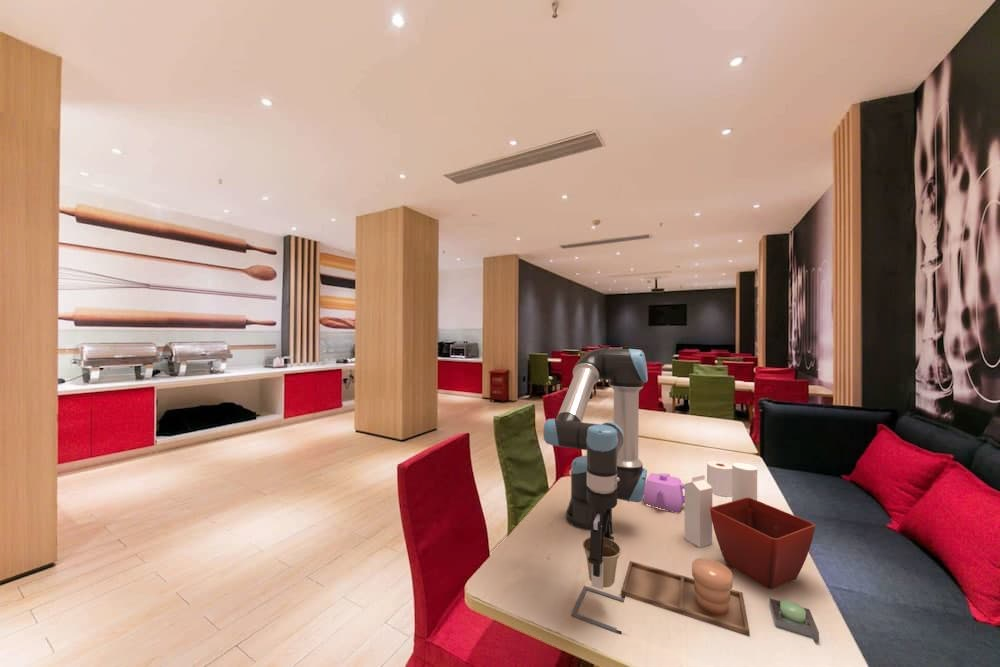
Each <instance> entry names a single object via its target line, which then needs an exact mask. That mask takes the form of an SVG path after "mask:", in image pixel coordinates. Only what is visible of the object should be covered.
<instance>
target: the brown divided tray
mask: <svg viewBox="0 0 1000 667" xmlns="http://www.w3.org/2000/svg"><path fill="white" fill-rule="evenodd" d="M626 570H627V571H626V573H625V577H624V581H623V584H622V587H621V590H620V592H621V593H620V596H621V597H620V598H623V599H626V597H628V598H631V599H633V600H637V601H640V602H644V603H647V604H649V605H653V606H655V607H657V608H658V607H659V608H662V609H665V610H667V611H671V612H673V613H677V614H681V615H684V616H686V617H689V618H693V619H696V620H698V621H702V622H705V623H708V624H711V625H714V626H717V627H719V628H724V629H726V630H729V631H731V632H735V633H738V634H741V635H745V636H747V637H751V636H750V635H751V634H750V626H749V622H748V615H747V609H746V604H745V600H744V599H745V598H744V594H743V592H741V591H739V590H735V589H732V588H731V589H730V601H729V602H728V612H727V613H726V614H724V615H715V614H712V613H709V612H707V611H705V610H703V609H702V608H701V607H700V606H699V605H698V604H697V602H696V592H695V589H694V578H692V577H688V576H684V575H681V574H678V573H674V572H671V571H667V570H664V569H659V568H658V567H654V566H650V565H646V564H642V563H640V562H635V561H632V560H629V563H628V566H627V569H626Z"/></svg>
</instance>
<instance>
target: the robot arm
mask: <svg viewBox="0 0 1000 667" xmlns="http://www.w3.org/2000/svg"><path fill="white" fill-rule="evenodd" d="M647 365H648V364H647V360H646V356H645V352H644V351H642V349H641V350H640V349H635V348H634V349H633V348H596V349H593V350H591V351H589V352H587V353H585V354H583V356H581V358H580V359H578V361H577V362H576V363H575V365H574V367H573V369H572V378H571V382H570V385H569V387H568V389H567V392H566V394H565V397H564V399H563V401H562V404H561V406H560V409H559V411H558V414H557V415H556V418H548V419H546V421H544V422H545V423H544V425H543V431H542V434H543V440H544V443H546V444H547V445H551V446H556V447H561V448H570V449H575V450H583V451H586V455H581V456H578V457H576V458H574V459H572V462H571V470H570V475H571V476H570V480H571V481H570V486H571V487H570V493H571V494H570V498H569V499H570V500H569V503H568V506H567V508H566V513H565V515H566V516H565V517H566V518H565V519H566V521H567V522H568V523H569V525H571V526H574V527H576V528H577V529H581V530H586V531H590V555H589V558H588V560H589V563H592V582H591V587H592V588H597V589H598V590H599V589H600V590H601V591H602V590H604V587H603V561H602V556H603V545H604V537H606V538H609V539H611V540H613V541H615V536H613V534H614V531H613V509H614V508H616V506H617V505H618V500H621V501H626V502H628V503H629V502H633V503H640V502H642V500H644V489H645V484H646V481H647V474H648V469H646V468H644V467H643V466H644V465H643V462H642V461H641V460H640V459H639V401H640V400H639V398H640V396H639V394H640V393H639V392H640V391H641V390H642V389H643V388H644V384H645V383H647V382H648V380H649V379H648V378H649V377H648V366H647ZM600 380H602V381H603V380H604V381H609V387H611V389H612V390H613V421H606V422H603V423H602V424H601V423H600V424H599V423H591V422H590V423H589V422H583V419H584V416H585V414H586V410H587V407H588V404H589V400H590V397H591V395H592V392H593V389H594V386H595V385H596V384H597V383H598V381H600Z"/></svg>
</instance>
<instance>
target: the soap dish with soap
mask: <svg viewBox="0 0 1000 667" xmlns="http://www.w3.org/2000/svg"><path fill="white" fill-rule="evenodd" d="M781 601H782V600H779V599H778V600H777V599H774V598H771V597H770V598H769V608H770V612H771V615H772V616H771V617H772V619H773V622H774V626H775V627H776V628H778V629H782V630H785V631H788V632H791V633H795V634H798V635H801V636H805V637H808V638H811V639H813V642H814V643H816V642H817V644H820V631H819V629H818V626H817V625H816V622H815V619H814V617H813V615H812V612H811V609H810V608H806V607H803V608H804V609H805V611H806V625H805V624H801V623H798V622H794V621H791V620H788V619H784V618H781V615H780V602H781Z"/></svg>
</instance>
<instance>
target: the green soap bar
mask: <svg viewBox="0 0 1000 667" xmlns="http://www.w3.org/2000/svg"><path fill="white" fill-rule="evenodd" d="M780 601H781V602H780V611H779V612H780V615H781V618H784V619H788V620H791V621H794V622H798V623H801V624H805V625H807V624H806V611H805V609H804V608H805V607H804V606H801V605H800V604H798V603H797V602H795V601H792V600H787V599H784V600H780Z"/></svg>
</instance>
